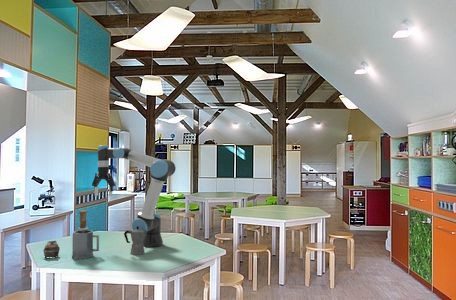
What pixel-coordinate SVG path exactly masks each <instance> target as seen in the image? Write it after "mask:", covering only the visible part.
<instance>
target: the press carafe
mask: <svg viewBox="0 0 456 300" xmlns="http://www.w3.org/2000/svg"><path fill="white" fill-rule="evenodd" d="M94 238H96V248H94ZM99 251H100V235H98V234H94V230H90V229H87V230H84V233H82V230H75V231H74V230H73V231H72V253H71V254H72V255H71V258H72V259H73V258H75V260H85V259H86V258H87V259H91V258H93V257H94V252H99Z"/></svg>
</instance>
